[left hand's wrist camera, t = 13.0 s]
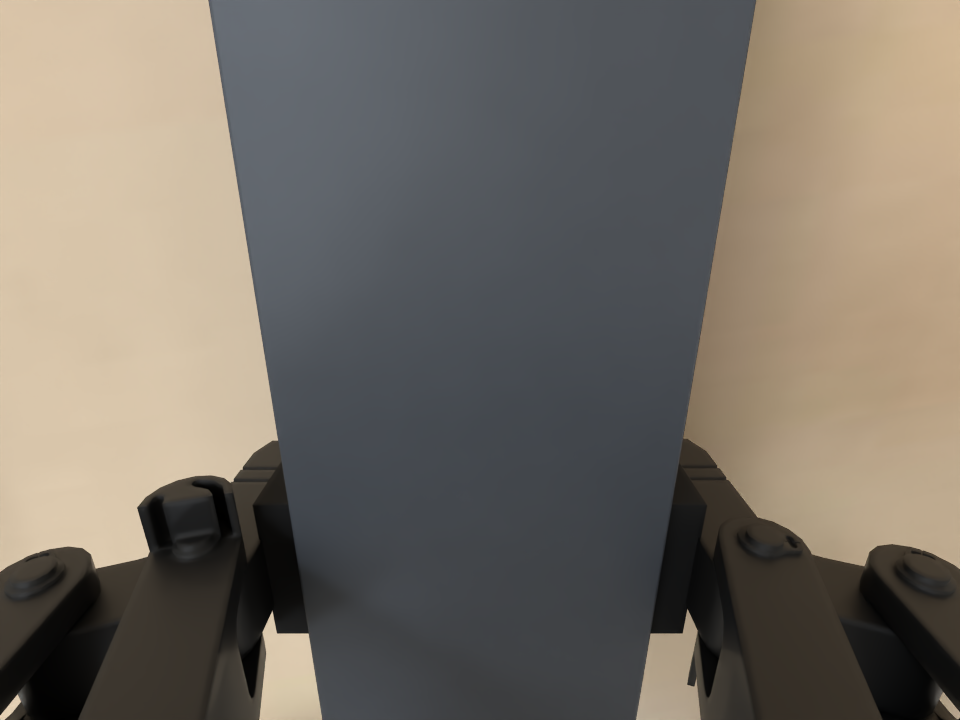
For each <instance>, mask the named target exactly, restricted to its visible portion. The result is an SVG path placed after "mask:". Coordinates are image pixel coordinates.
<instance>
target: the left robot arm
mask: <svg viewBox="0 0 960 720" xmlns="http://www.w3.org/2000/svg"><path fill="white" fill-rule="evenodd" d="M137 509H138V512H139V516H140V519H141V522H142V526H143V529H144V533H145V536H146V540H147V543H148V546H149V550H150V553H149V555H148V557H146V558H142V559H139V560H135V561H130V562H125V563H121V564H116V565H111V566H107V567H102V568H97V569H96V568H95V566H94V563H93V560H92V557H91V554H89V553H88V552H87V551H85V550H84V549H83V548H75V547H63V548H56V549H49V550H46V551H42V552H40V553H36V554H33V555H30V556H28V557H26V558H24V559H22V560H20V561H18V562H16V563H14V564H12V565H10V566H8V567H7V568H5V569H4V570H3V571H1V572H0V715H1V714H2V712H3V711H4V710H5V709H6V708H7V706H8V705H9V704H10V703H11V701H12V700H13V699H14V698H15V697H16V695H17V694H18V696H19V698H20V700H21V703H20V704H19V705H18V707H17V708H16V709H15V710H14V712H13V713H12V714H11V715H10V716H9V717H7V718H6V719H5V720H259V717H260V707H261V697H262V688H263V678H264V669H265V659H266V649H265V643H264V638H263V633H262V632H263V630H264V627H265V625H266V623H267V621H268V619H269V617H270V614H271V612H272V610H273V615H274V620H275V625H276V630H277V633H309V631H308V625H307V619H306V612H305V606H304V600H303V593H302V587H301V581H300V575H299V568H298V562H297V556H296V549H295V543H294V537H293V530H292V524H291V518H290V511H289V505H288V499H287V492H286V486H285V480H284V473H283V467H282V461H281V455H280V448H279V442H278V441H271V442H270V443H268V444H267V445H265V446H264V447H262V448H261V449H259V450H258V451H256V452H255V453H254V454H253V455H252V456H251V457H250V459H249V460H248V461H247V463H246V464H245V465H244V466H243V470H240V472H239V473H238V474H237V476H236V477H235V478H234V482H231V483H230V482H228V481H227V480H226V479H225V478H221V477H216V476H195V477H190V478H186V479H182V480H178V481H175V482H173V483H170V484H168V485H166V486H163V487H161V488H159V489H158V490H156V491H155V492H153V493H152V494H150V495H149V496H147V497H146V498H145V499H144V500H143V501H142V503H141V504H140V505H139V506H138V507H137ZM687 608H688V610H689V613H690V615H691V617H692V619H693V621H694V623H695V626H696V628H697V630H698V633H697V638H696V642H695V647H694V652H693V657H692V662H691V667H690V671H689V677H688V684H687V685H690V686H694V685H695V681H696V677H697V686H698V696H699V706H700V715H701V720H960V718H959V719H956V718H955V717H954V716H953V715H952V714H951V713H950V712H949V711H948V710H947V709H946V708H945V706H944V705H943V704H942V703H941V701H940V700H939V699H940V697H941V694H942V692H944V693H945V694H946V696H947V697H948V698H949V699H950V700H951V702H952V703H953V704H954V705H955V707H956V708H957V709H958V710H959V711H960V569H958V568H957V567H956V566H954V565H953V564H951V563H949V562H947V561H945V560H943V559H941V558H939V557H937V556H936V555H934V554H931V553H929V552H926V551H921V550H920V549H916V548H912V547H907V546H900V545H893V544H891V545H882V546H877V547H876V548H874V549H873V550H872V551H870V552H869V555H868V558H867V561H866V564H865V567H864V566H859V565H854V564H850V563H845V562H840V561H836V560H831V559H826V558H822V557H818V556H815V555H812V554H811V552H810V550H809V549H808V547H807V546H806V544H805V543H804V542H803V540H802V539H801V538H799V537H798V536H797V535H795V534H794V533H793V532H791V531H790V530H789V529H787V528H785V527H783V526H781V525H778V524H776V523H774V522H772V521H768V520H765V519H761V518H757V516H756V515H755V514H754V512H753V511H752V510H751V509H750V507H749V506H748V505H747V503H746V502H745V501H744V500H743V498H742V497H741V496H740V494H739V493H738V492H737V491H736V489H735V488H734V487H733V485H732V484H731V483H730V482H729V480H726V476H725V475H724V474H723V473H722V471H721V470H720V469H719V468H717V465H716V463H715V462H714V461H713V460H712V458H711V457H710V456H709V454H708V453H707V452H706V451H705V450H703V449H702V448H700V447H699V446H697V445H696V444H694V443H693V442H691V441H689V440H688V439H683V441H682V447H681V453H680V459H679V465H678V471H677V477H676V483H675V489H674V495H673V501H672V507H671V513H670V519H669V525H668V531H667V537H666V543H665V549H664V555H663V561H662V567H661V573H660V579H659V585H658V591H657V597H656V603H655V609H654V615H653V621H652V627H651V633H683V628H684V623H685V618H686V613H687Z"/></svg>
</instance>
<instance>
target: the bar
mask: <svg viewBox="0 0 960 720" xmlns="http://www.w3.org/2000/svg"><path fill="white" fill-rule="evenodd" d="M755 4H756V0H209V6H210V13H211V19H212V25H213V32H214V38H215V44H216V51H217V57H218V63H219V69H220V76H221V82H222V88H223V95H224V101H225V107H226V114H227V120H228V126H229V133H230V139H231V145H232V152H233V158H234V164H235V170H236V177H237V183H238V189H239V196H240V202H241V208H242V215H243V221H244V227H245V234H246V240H247V246H248V253H249V259H250V265H251V271H252V278H253V284H254V290H255V297H256V303H257V309H258V316H259V322H260V328H261V335H262V341H263V347H264V354H265V360H266V366H267V372H268V379H269V385H270V391H271V398H272V404H273V410H274V417H275V423H276V429H277V436H278V442H279V448H280V455H281V461H282V467H283V473H284V480H285V486H286V492H287V499H288V505H289V511H290V518H291V524H292V530H293V537H294V543H295V549H296V556H297V562H298V568H299V575H300V581H301V587H302V593H303V600H304V606H305V612H306V619H307V625H308V631H309V638H310V644H311V650H312V657H313V663H314V669H315V676H316V682H317V688H318V694H319V701H320V707H321V713H322V720H636V717H637V711H638V705H639V699H640V693H641V687H642V681H643V675H644V669H645V663H646V657H647V651H648V645H649V639H650V633H651V627H652V621H653V615H654V609H655V603H656V597H657V591H658V585H659V579H660V573H661V567H662V561H663V555H664V549H665V543H666V537H667V531H668V525H669V519H670V513H671V507H672V501H673V495H674V489H675V483H676V477H677V471H678V465H679V459H680V453H681V447H682V441H683V435H684V429H685V423H686V417H687V411H688V405H689V399H690V393H691V387H692V381H693V375H694V369H695V363H696V357H697V351H698V345H699V339H700V333H701V327H702V321H703V315H704V309H705V303H706V297H707V291H708V285H709V279H710V273H711V267H712V261H713V255H714V249H715V243H716V237H717V231H718V225H719V219H720V214H721V208H722V202H723V196H724V190H725V184H726V178H727V172H728V166H729V160H730V154H731V148H732V142H733V136H734V130H735V124H736V118H737V112H738V106H739V100H740V94H741V88H742V82H743V76H744V70H745V64H746V58H747V52H748V46H749V40H750V34H751V28H752V22H753V16H754V10H755Z"/></svg>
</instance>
